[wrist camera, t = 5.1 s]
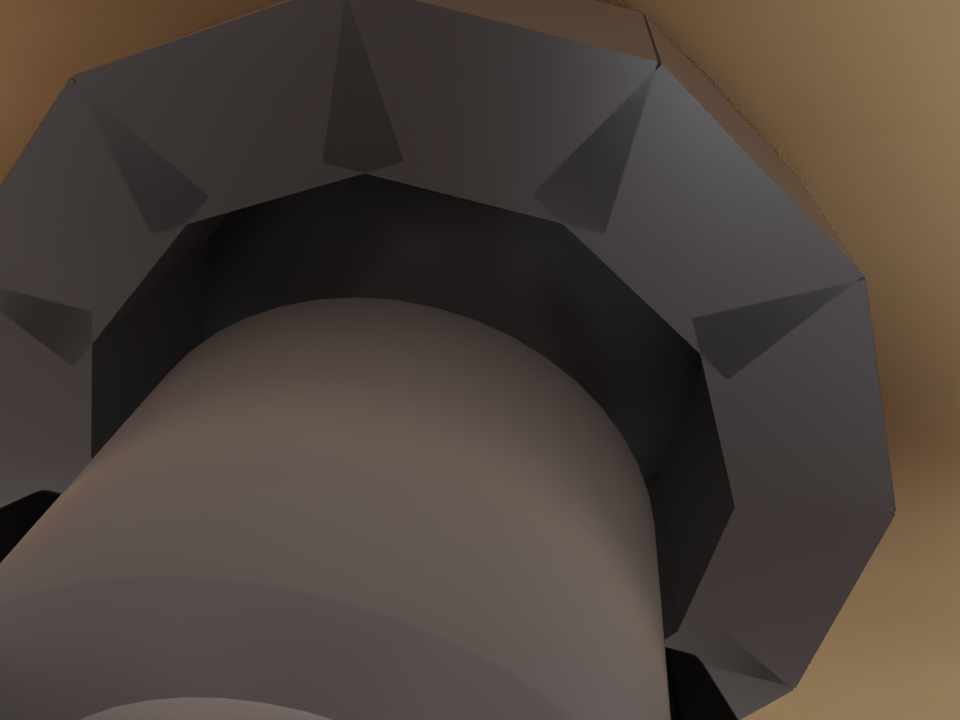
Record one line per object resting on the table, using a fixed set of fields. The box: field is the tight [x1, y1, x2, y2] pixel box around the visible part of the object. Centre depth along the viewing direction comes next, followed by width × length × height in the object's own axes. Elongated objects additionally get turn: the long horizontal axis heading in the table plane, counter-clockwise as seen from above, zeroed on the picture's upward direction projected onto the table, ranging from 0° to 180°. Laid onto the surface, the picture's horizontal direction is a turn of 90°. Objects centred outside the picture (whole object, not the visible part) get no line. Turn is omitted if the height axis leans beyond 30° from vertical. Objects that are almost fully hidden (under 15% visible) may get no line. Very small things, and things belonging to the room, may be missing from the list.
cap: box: [0, 297, 671, 720], centre depth 8 cm, size 6×6×4 cm
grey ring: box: [0, 0, 896, 720], centre depth 13 cm, size 11×11×4 cm
